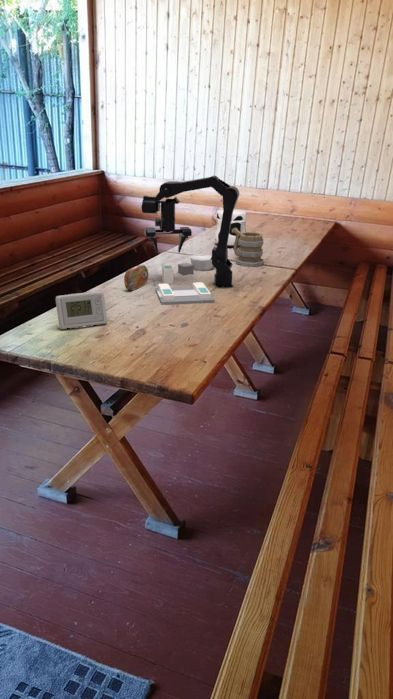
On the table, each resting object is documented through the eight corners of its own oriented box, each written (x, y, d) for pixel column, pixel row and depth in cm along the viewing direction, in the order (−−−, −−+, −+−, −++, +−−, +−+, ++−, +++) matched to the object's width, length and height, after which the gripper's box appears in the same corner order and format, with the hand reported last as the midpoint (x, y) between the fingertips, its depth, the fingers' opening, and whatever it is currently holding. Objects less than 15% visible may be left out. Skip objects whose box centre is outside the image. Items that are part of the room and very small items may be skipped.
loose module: (171, 279, 235) (171, 265, 232) (173, 283, 229) (173, 268, 227) (162, 279, 234) (162, 265, 231) (164, 283, 228) (164, 269, 226)
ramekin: (209, 264, 259) (209, 253, 257) (217, 270, 249) (218, 259, 247) (186, 265, 255) (187, 254, 253) (194, 272, 246) (194, 260, 244)
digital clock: (57, 331, 177) (55, 299, 173) (57, 321, 185) (55, 291, 181) (108, 328, 180) (107, 297, 176) (106, 318, 188) (105, 289, 184)
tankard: (268, 264, 261) (270, 233, 255) (247, 268, 254) (249, 235, 248) (241, 255, 276) (243, 225, 270) (221, 258, 269) (223, 228, 263)
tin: (129, 292, 216) (129, 272, 212) (123, 291, 217) (122, 270, 214) (149, 283, 228) (148, 263, 225) (142, 282, 229) (142, 262, 226)
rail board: (203, 288, 223) (204, 280, 222) (214, 302, 207) (214, 294, 206) (155, 290, 219) (155, 282, 218) (161, 304, 203) (161, 296, 202)
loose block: (187, 271, 247) (187, 262, 245) (193, 274, 243) (193, 265, 241) (178, 272, 244) (178, 264, 243) (183, 275, 240) (183, 266, 239)
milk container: (212, 241, 303) (213, 208, 296) (242, 241, 305) (244, 208, 298) (216, 248, 288) (217, 214, 281) (248, 248, 290) (251, 214, 282)
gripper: (186, 210, 229) (186, 247, 236) (142, 211, 226) (143, 248, 232) (192, 215, 219) (191, 253, 226) (145, 216, 216) (146, 255, 222)
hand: (167, 252), depth 227 cm, fingers open, 9 cm apart
